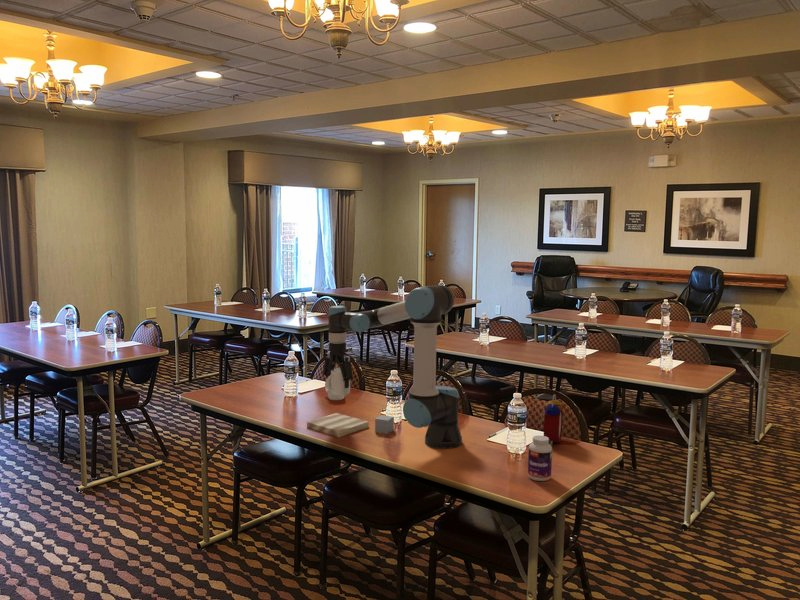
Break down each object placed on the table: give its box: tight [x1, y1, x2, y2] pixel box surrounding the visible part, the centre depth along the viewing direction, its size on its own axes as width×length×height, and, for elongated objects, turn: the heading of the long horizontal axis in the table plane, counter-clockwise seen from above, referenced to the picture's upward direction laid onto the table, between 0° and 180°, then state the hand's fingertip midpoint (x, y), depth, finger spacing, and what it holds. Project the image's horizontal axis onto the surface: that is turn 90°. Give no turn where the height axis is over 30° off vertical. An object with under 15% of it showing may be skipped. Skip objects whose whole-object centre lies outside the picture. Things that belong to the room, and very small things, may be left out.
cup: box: [324, 381, 345, 401], centre depth 326 cm, size 8×12×10 cm
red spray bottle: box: [538, 394, 564, 447], centre depth 259 cm, size 15×9×20 cm, turn 160°
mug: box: [325, 367, 351, 395], centre depth 275 cm, size 12×8×10 cm
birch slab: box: [306, 412, 370, 438], centre depth 277 cm, size 20×18×3 cm
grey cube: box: [374, 414, 395, 435], centre depth 272 cm, size 6×6×6 cm
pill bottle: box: [527, 435, 553, 482], centre depth 222 cm, size 8×8×14 cm
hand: (337, 393), depth 276 cm, fingers closed on mug, 8 cm apart
